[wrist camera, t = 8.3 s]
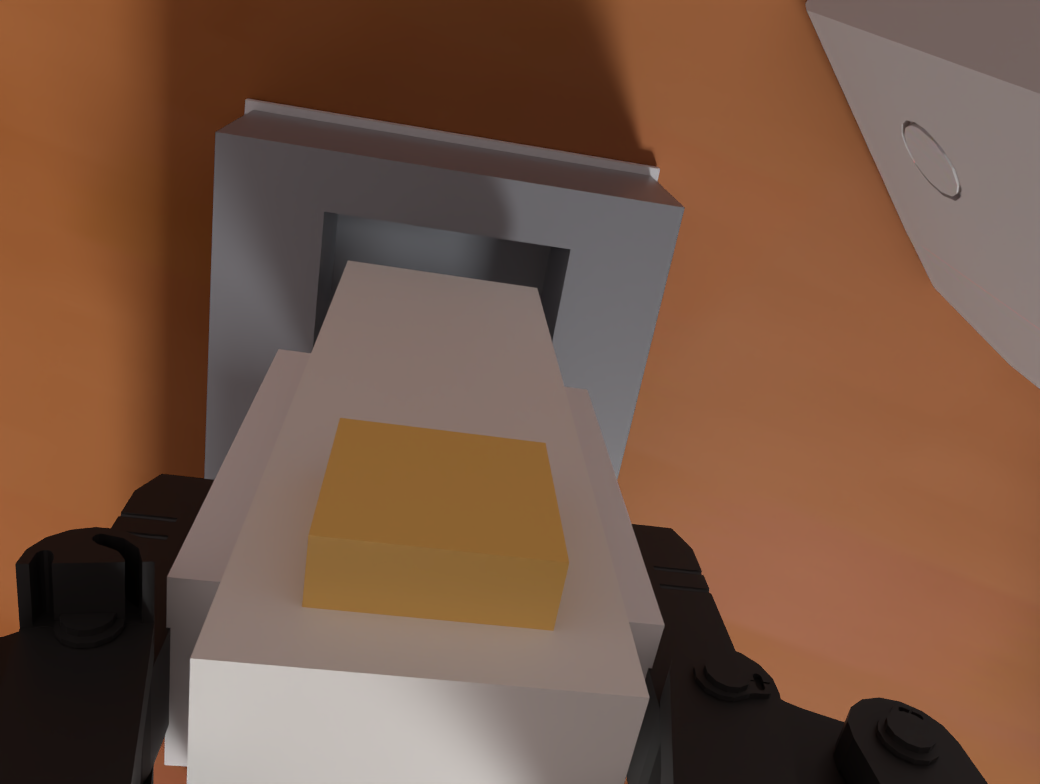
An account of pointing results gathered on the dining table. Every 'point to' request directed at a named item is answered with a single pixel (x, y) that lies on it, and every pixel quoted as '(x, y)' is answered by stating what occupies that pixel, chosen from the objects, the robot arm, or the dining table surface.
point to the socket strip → (427, 245)
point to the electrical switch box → (954, 145)
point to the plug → (420, 564)
